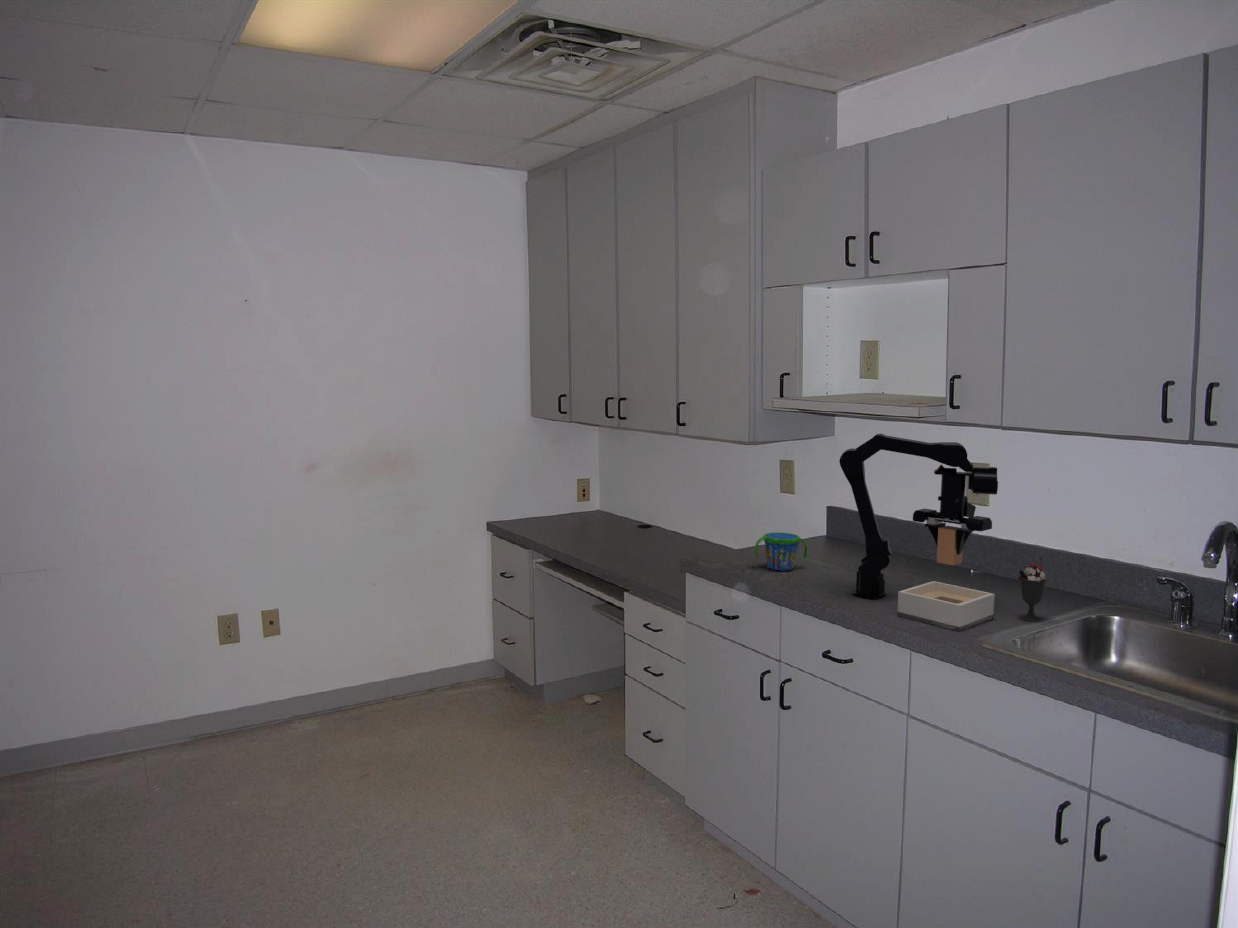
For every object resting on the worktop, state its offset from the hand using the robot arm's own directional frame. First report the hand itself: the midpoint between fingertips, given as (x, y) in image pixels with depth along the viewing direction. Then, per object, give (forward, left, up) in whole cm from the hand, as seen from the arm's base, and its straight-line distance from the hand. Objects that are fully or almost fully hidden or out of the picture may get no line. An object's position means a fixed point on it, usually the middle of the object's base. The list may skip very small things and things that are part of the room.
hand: (949, 552), depth 221 cm
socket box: (+6, -12, -13) cm, 19 cm away
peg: (0, 0, -2) cm, 3 cm away
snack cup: (-51, -5, -13) cm, 53 cm away
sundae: (+20, +2, -13) cm, 24 cm away
